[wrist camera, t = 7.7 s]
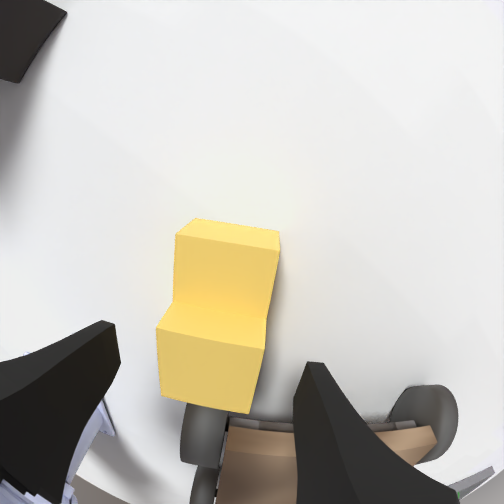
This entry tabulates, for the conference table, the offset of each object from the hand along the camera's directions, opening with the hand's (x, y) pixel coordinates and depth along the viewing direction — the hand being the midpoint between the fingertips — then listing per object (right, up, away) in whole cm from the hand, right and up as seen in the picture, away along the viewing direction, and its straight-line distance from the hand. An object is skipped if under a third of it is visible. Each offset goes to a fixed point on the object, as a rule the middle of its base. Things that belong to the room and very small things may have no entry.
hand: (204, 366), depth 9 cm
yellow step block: (0, +2, +5) cm, 5 cm away
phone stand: (-16, +21, 0) cm, 26 cm away
